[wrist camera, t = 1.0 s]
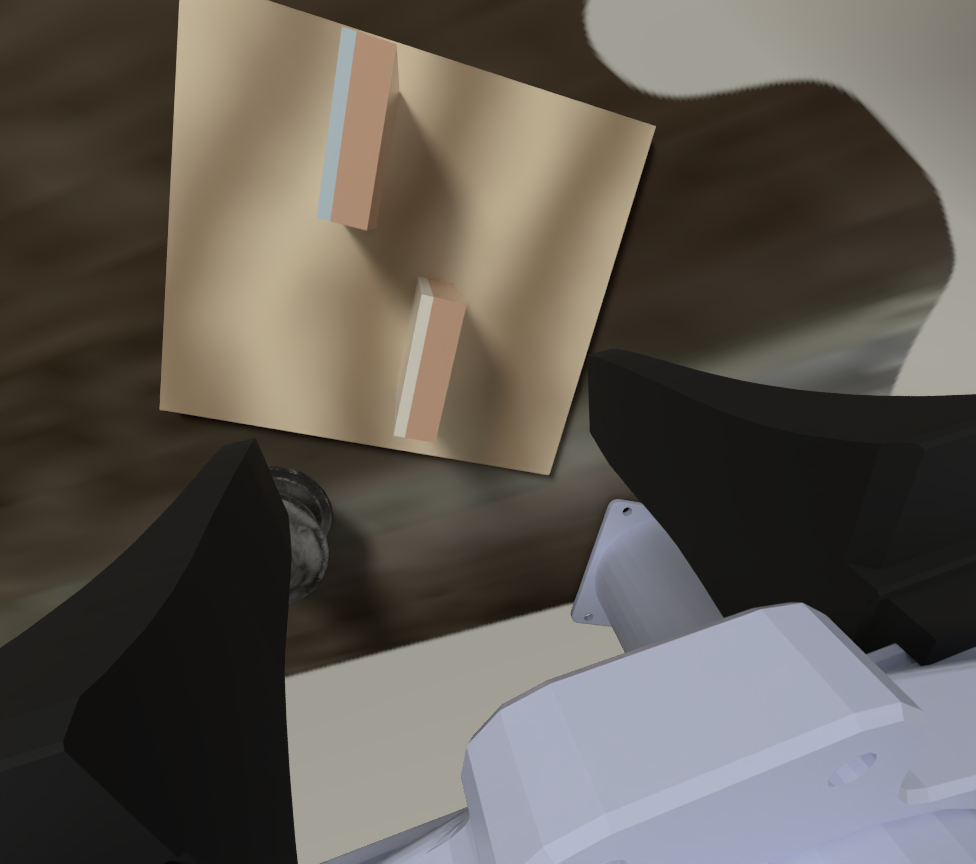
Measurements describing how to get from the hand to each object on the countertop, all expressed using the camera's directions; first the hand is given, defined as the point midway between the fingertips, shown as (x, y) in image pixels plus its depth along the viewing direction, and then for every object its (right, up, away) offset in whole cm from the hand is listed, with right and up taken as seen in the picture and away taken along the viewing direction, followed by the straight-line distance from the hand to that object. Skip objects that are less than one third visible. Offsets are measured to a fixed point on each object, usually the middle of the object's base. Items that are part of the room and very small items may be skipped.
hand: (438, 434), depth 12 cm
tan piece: (-4, +11, +10) cm, 15 cm away
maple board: (-3, +7, +12) cm, 14 cm away
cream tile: (-2, +4, +12) cm, 13 cm away
